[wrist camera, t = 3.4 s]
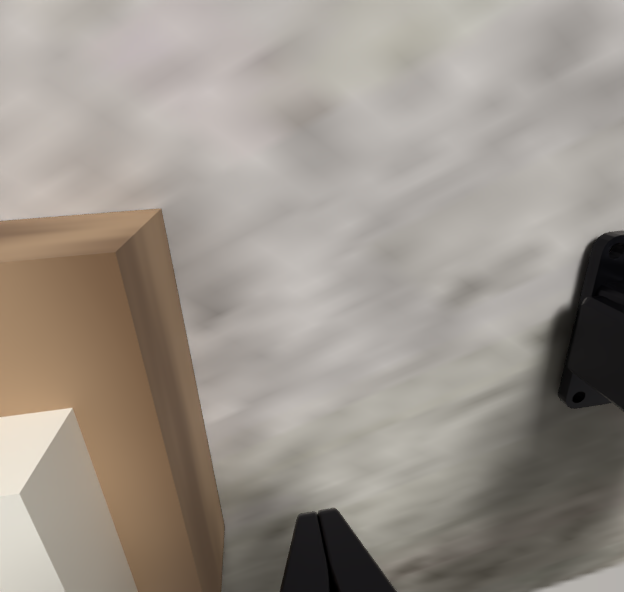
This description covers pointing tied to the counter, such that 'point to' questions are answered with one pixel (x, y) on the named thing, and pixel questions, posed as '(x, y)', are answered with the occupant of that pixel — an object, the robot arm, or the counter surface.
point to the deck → (116, 380)
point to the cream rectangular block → (54, 511)
